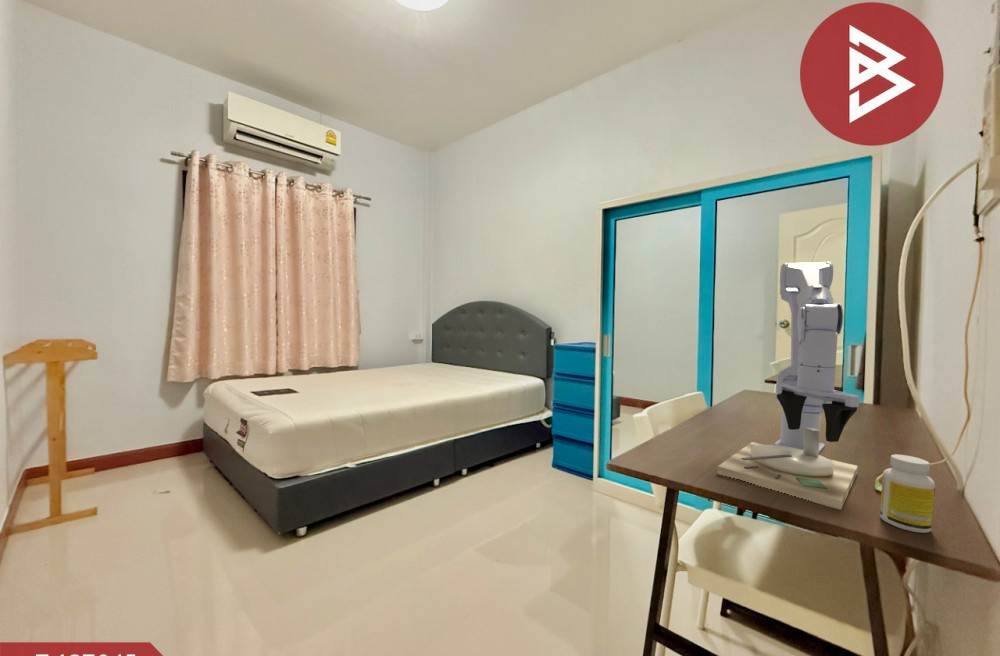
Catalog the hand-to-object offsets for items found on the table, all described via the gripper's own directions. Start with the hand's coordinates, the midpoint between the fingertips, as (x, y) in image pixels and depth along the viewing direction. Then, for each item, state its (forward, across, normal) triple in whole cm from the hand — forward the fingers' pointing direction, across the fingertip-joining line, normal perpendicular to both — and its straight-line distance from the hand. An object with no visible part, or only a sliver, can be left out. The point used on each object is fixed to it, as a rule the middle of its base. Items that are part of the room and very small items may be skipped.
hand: (812, 434), depth 78 cm
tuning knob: (+5, 0, -7) cm, 9 cm away
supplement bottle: (+7, +19, -6) cm, 21 cm away
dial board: (+7, 0, -6) cm, 9 cm away
